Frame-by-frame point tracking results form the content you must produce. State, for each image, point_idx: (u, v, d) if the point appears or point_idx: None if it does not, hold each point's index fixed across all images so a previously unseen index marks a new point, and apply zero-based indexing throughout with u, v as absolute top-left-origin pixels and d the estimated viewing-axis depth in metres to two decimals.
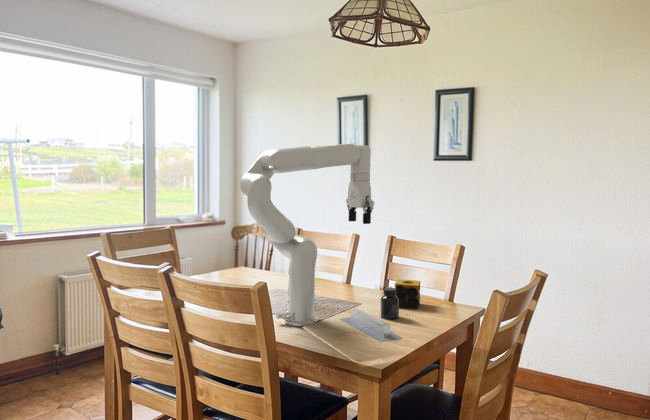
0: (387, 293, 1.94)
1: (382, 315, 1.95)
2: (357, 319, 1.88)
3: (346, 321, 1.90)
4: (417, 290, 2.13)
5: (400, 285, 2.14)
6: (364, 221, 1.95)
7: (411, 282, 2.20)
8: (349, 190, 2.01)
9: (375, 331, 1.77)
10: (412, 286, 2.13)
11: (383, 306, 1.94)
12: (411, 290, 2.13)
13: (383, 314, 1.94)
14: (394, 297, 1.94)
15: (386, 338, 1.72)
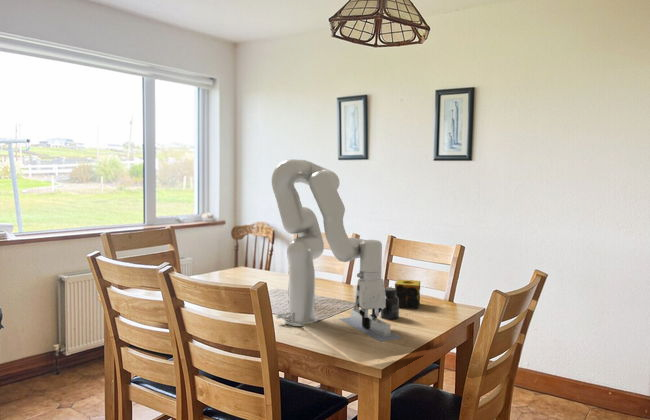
0: (387, 293, 1.94)
1: (382, 315, 1.95)
2: (357, 319, 1.88)
3: (346, 321, 1.90)
4: (417, 290, 2.13)
5: (400, 285, 2.14)
6: None
7: (411, 282, 2.20)
8: (366, 292, 1.78)
9: (375, 331, 1.77)
10: (412, 286, 2.13)
11: None
12: (411, 290, 2.13)
13: (383, 314, 1.94)
14: (394, 297, 1.94)
15: (386, 338, 1.72)
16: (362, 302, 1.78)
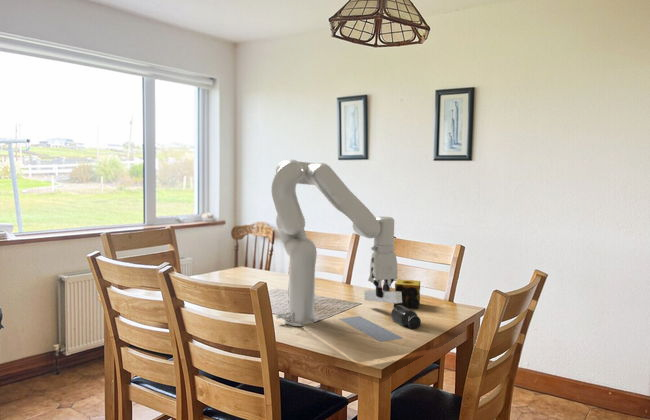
0: (407, 323, 1.83)
1: (394, 313, 1.90)
2: (371, 296, 2.05)
3: (346, 321, 1.90)
4: (417, 290, 2.13)
5: (400, 285, 2.14)
6: None
7: (411, 282, 2.20)
8: (380, 263, 1.95)
9: (388, 301, 1.95)
10: (412, 286, 2.13)
11: (398, 317, 1.87)
12: (411, 290, 2.13)
13: (394, 314, 1.90)
14: None
15: (386, 338, 1.72)
16: (376, 273, 1.95)
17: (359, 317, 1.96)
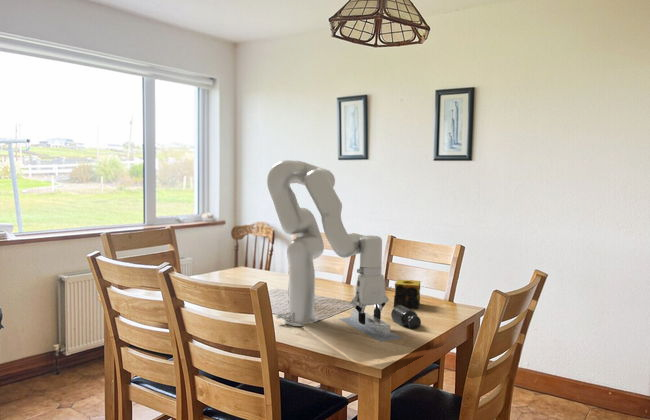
0: (407, 323, 1.83)
1: (394, 312, 1.90)
2: (357, 318, 1.88)
3: (346, 321, 1.90)
4: (417, 290, 2.13)
5: (400, 285, 2.14)
6: None
7: (411, 282, 2.20)
8: (366, 287, 1.78)
9: (375, 331, 1.77)
10: (412, 286, 2.13)
11: (398, 317, 1.87)
12: (411, 290, 2.13)
13: (394, 314, 1.90)
14: None
15: (386, 338, 1.72)
16: (362, 298, 1.78)
17: None
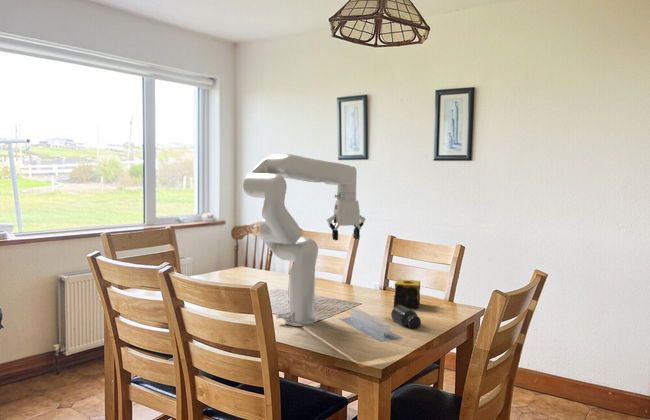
0: (407, 323, 1.83)
1: (394, 312, 1.90)
2: (357, 318, 1.88)
3: (346, 321, 1.90)
4: (417, 290, 2.13)
5: (400, 285, 2.14)
6: None
7: (411, 282, 2.20)
8: (342, 209, 2.06)
9: (375, 331, 1.77)
10: (412, 286, 2.13)
11: (398, 317, 1.87)
12: (411, 290, 2.13)
13: (394, 314, 1.90)
14: None
15: (386, 338, 1.72)
16: (339, 218, 2.06)
17: None
